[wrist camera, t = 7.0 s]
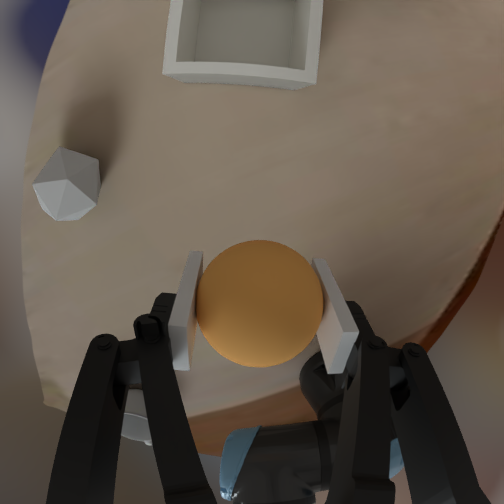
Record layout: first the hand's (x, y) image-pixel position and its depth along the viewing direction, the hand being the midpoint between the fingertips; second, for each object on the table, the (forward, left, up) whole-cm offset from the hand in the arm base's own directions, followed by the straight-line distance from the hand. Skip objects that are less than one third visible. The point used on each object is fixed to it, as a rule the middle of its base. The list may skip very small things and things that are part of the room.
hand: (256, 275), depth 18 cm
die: (+21, -1, -19) cm, 28 cm away
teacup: (+18, +44, -19) cm, 51 cm away
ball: (0, 0, 0) cm, 0 cm away
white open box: (+2, -18, -19) cm, 26 cm away
